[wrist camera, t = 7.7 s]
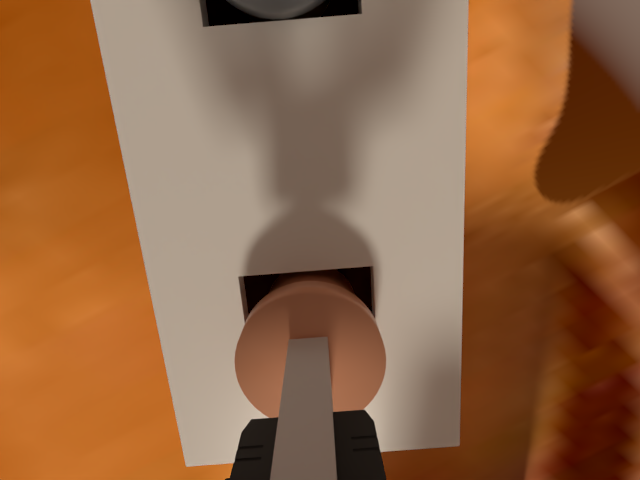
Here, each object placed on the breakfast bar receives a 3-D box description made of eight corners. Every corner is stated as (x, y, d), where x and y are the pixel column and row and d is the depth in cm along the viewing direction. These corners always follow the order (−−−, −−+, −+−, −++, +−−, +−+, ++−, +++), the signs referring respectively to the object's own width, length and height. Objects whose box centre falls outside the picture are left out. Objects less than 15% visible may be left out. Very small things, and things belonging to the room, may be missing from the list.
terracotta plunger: (249, 256, 20) (224, 300, 14) (364, 247, 19) (383, 288, 14) (262, 358, 21) (244, 433, 16) (369, 350, 21) (388, 423, 16)
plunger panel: (121, -166, 17) (24, -320, 12) (421, -191, 17) (475, -359, 12) (216, 391, 25) (186, 466, 19) (425, 375, 25) (459, 446, 19)
